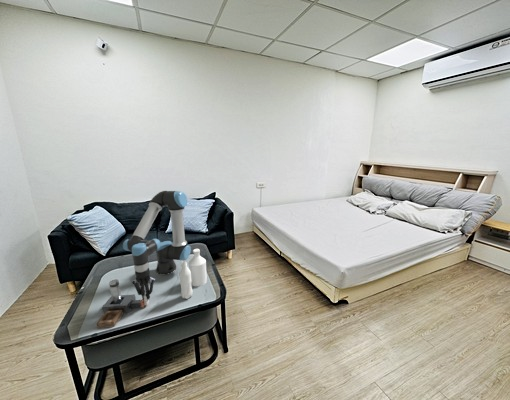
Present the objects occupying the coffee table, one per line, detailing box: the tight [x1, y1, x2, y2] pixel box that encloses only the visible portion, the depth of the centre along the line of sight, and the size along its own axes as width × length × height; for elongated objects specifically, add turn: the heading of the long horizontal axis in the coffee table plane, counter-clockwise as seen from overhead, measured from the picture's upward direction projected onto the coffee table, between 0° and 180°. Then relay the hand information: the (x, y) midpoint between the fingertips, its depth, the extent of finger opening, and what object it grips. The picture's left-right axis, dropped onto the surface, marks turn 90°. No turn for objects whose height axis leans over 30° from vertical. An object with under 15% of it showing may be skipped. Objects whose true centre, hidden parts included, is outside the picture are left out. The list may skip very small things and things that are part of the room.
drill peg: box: [108, 279, 122, 304], centre depth 130 cm, size 5×5×18 cm
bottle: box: [188, 248, 208, 287], centre depth 154 cm, size 12×12×25 cm
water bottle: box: [178, 260, 194, 300], centre depth 138 cm, size 7×7×25 cm
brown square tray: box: [96, 310, 124, 328], centre depth 121 cm, size 9×9×3 cm
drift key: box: [130, 299, 146, 309], centre depth 132 cm, size 8×4×4 cm, turn 95°
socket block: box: [101, 294, 137, 315], centre depth 131 cm, size 14×10×5 cm
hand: (147, 303), depth 133 cm, fingers closed
